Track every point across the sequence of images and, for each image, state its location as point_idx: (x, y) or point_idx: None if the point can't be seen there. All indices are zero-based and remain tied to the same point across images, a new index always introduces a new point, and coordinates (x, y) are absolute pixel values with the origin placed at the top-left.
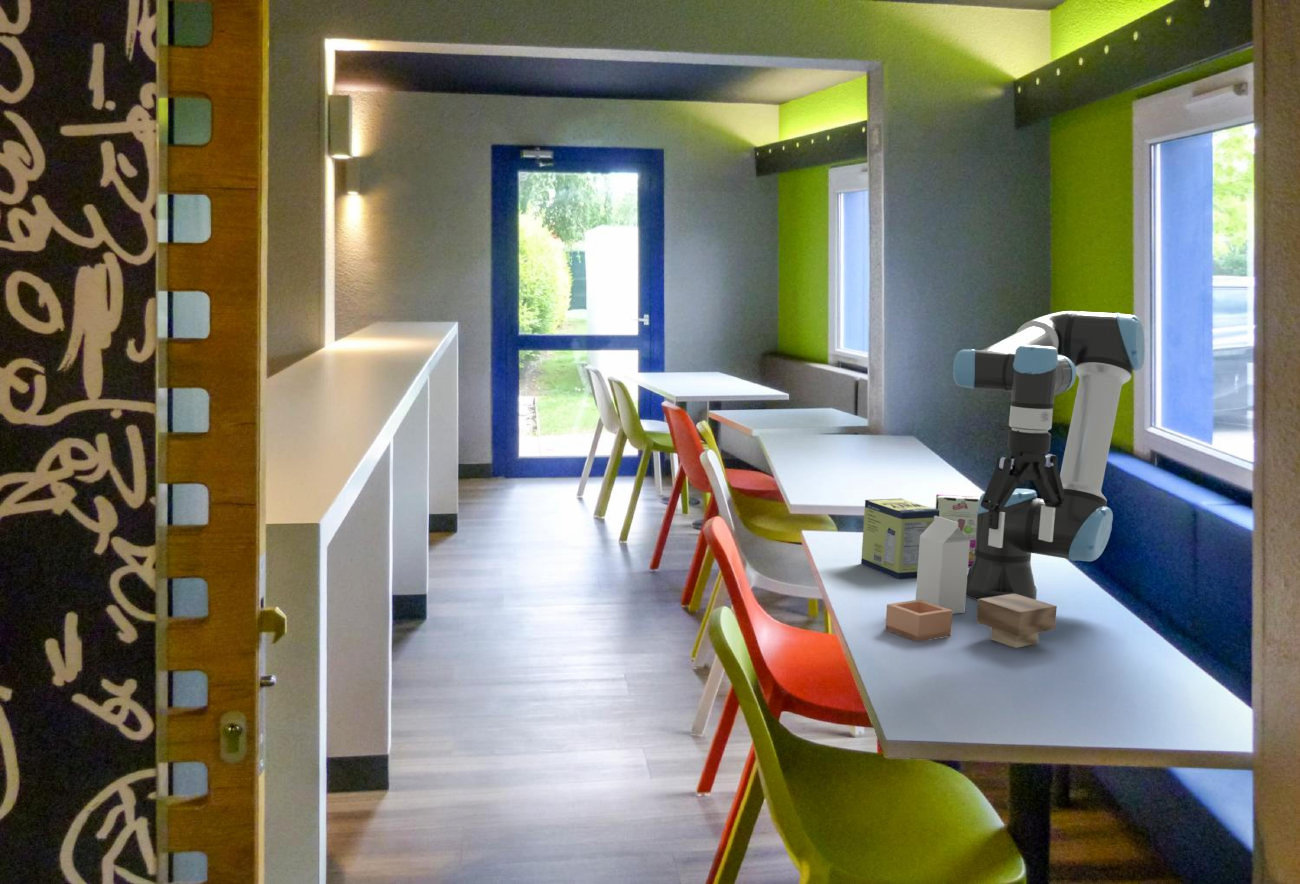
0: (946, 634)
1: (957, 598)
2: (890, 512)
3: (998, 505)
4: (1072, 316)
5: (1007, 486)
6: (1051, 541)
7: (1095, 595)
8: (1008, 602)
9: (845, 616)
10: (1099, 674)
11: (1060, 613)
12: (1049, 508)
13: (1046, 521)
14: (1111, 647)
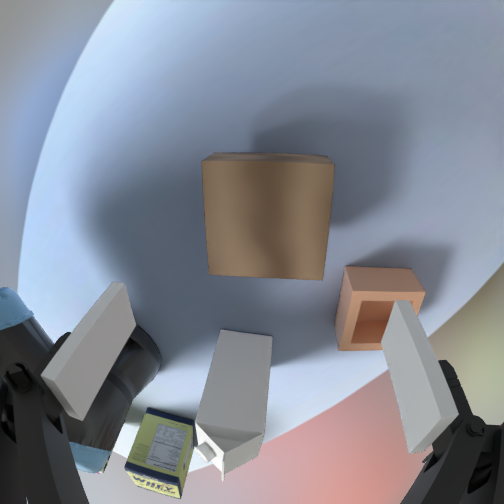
0: (355, 268)
1: (233, 347)
2: (179, 485)
3: (481, 445)
4: None
5: None
6: (117, 283)
7: (21, 289)
8: (285, 233)
9: (378, 372)
10: (288, 6)
11: (87, 265)
12: (65, 389)
13: (96, 352)
14: (135, 102)
